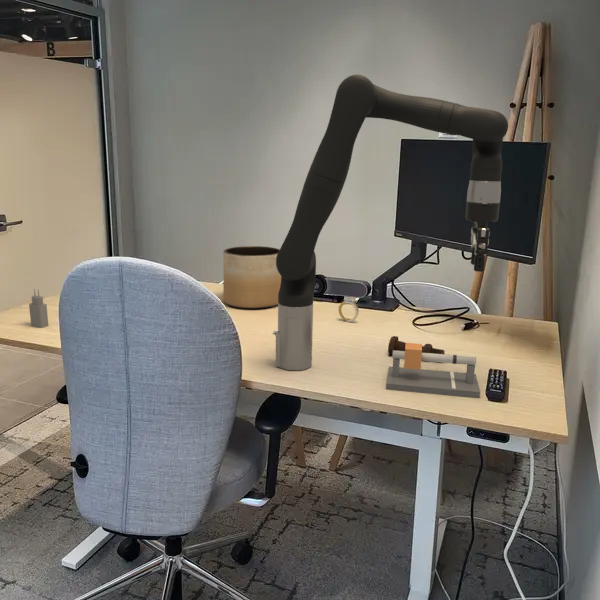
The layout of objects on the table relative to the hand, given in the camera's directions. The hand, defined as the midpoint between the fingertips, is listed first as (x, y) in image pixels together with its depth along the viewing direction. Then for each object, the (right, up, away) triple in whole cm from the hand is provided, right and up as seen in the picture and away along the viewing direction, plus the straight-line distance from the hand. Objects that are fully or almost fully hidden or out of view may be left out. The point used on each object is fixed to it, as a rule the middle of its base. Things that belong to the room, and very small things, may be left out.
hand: (476, 267), depth 142 cm
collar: (-15, -24, +4) cm, 29 cm away
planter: (-61, -9, +79) cm, 100 cm away
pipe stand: (-10, -29, +4) cm, 31 cm away
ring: (-27, -15, +57) cm, 64 cm away
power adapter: (-127, -16, +46) cm, 136 cm away
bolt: (-10, -24, +23) cm, 35 cm away
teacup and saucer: (-50, -18, +46) cm, 70 cm away
